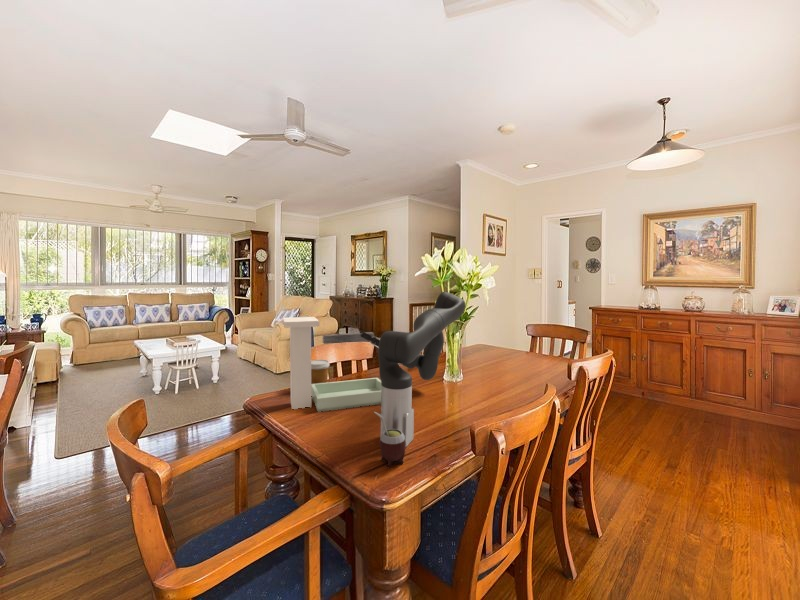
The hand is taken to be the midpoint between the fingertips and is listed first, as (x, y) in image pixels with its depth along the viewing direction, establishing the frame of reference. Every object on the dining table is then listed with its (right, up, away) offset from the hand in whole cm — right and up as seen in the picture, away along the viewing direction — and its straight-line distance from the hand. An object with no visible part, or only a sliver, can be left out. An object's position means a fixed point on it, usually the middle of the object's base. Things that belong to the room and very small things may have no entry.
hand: (361, 333), depth 141 cm
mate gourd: (+13, -30, -47) cm, 57 cm away
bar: (-5, -3, -2) cm, 6 cm away
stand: (-22, -27, -7) cm, 35 cm away
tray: (-4, -26, 0) cm, 27 cm away
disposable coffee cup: (-20, -26, +12) cm, 35 cm away
